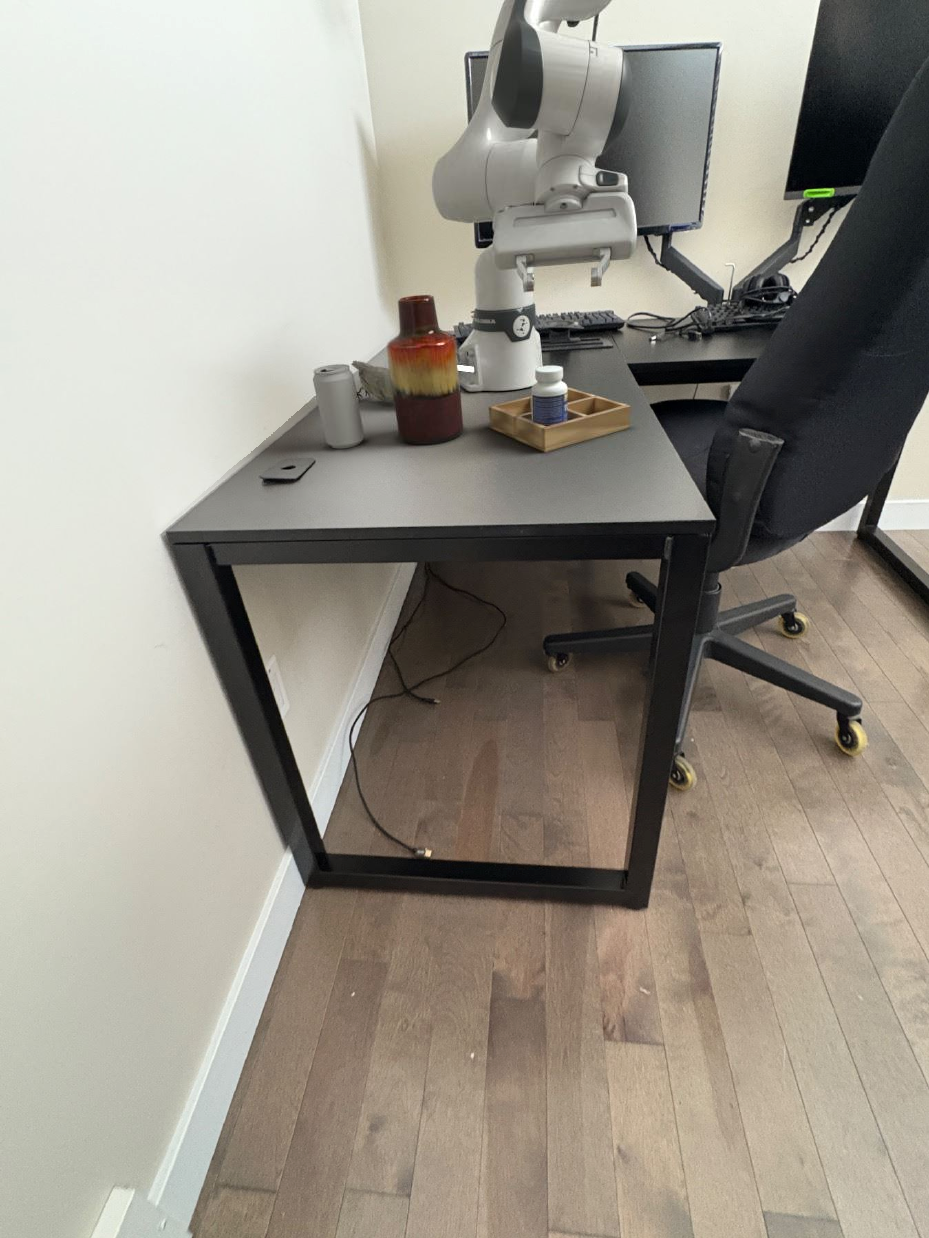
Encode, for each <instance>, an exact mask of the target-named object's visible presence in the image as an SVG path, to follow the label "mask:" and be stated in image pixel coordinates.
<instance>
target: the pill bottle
mask: <svg viewBox="0 0 929 1238" xmlns="http://www.w3.org/2000/svg"><path fill="white" fill-rule="evenodd" d="M535 378H536V380H537V383H536V384H534V385H533V386H531V389H530V396H531V410H532V421H533V422H536V423H538V424H541V425H543V426H546V427H547V426H550V425H554V424H558V423H561V422H565V421H567V397H568V389H567V387H568V385H567V384H566V383H565V382H564V381H562V379H563V378H564V367H563V366H560V365H542V367H538V368H537V369H536V370H535Z"/></svg>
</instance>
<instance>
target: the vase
mask: <svg viewBox="0 0 929 1238" xmlns="http://www.w3.org/2000/svg"><path fill="white" fill-rule="evenodd" d="M397 313H398V315H397V316H398V328H399V329H398V330H399V331H398V333H397V334H396V335H395V336H394V337H392V338H391V339H389V340H388V342H387V343H386V346H385V349H386V355H387V363H388V369H389V371H390V377H391V384H392V391H393V398H394V404H393V405H394V410H395V418H396V425H397V430H398V437H399V440H400V441H401V442H403V443H406V444H410V445H417V446H422V445H423V446H425V445H427V446H428V445H437V444H442V443H447V442H449V441H453V440H455V439H457V438H458V437H460V436H462V434H463V432H464V420H463V410H462V397H461V386H460V384H459V373H458V361H457V353H458V351H457V341H456V337H455V336H454V335H453V334H451V333H449V332H447V331H444V330H443V329H441V328H440V326H439V320H438V314H437V307H436V302H435V296H434V295H430V294H419V295H410V296H405V297H401V298H398V299H397Z"/></svg>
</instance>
